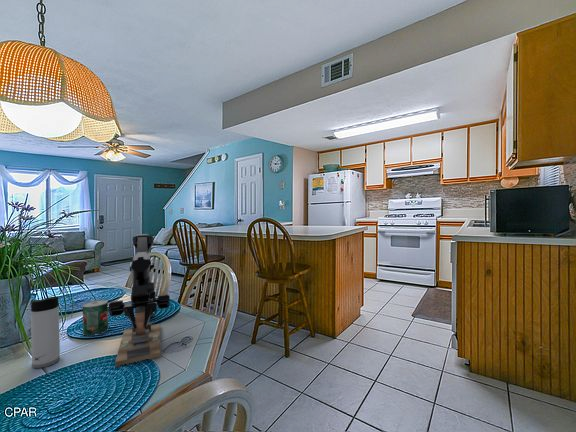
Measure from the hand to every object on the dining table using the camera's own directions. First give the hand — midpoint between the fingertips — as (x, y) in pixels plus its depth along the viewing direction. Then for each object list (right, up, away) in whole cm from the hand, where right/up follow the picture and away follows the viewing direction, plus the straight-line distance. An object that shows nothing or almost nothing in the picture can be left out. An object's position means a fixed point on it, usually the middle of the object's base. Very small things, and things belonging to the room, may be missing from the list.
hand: (140, 328), depth 89 cm
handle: (-1, -4, +1) cm, 4 cm away
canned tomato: (-24, -7, +13) cm, 28 cm away
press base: (-1, -7, +2) cm, 7 cm away
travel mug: (-24, -7, -9) cm, 26 cm away
